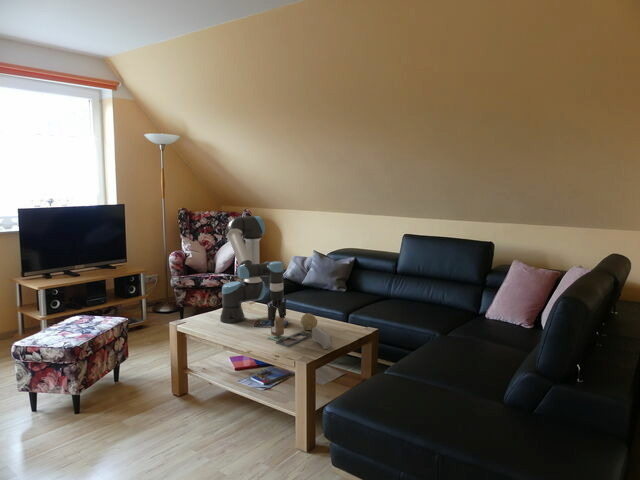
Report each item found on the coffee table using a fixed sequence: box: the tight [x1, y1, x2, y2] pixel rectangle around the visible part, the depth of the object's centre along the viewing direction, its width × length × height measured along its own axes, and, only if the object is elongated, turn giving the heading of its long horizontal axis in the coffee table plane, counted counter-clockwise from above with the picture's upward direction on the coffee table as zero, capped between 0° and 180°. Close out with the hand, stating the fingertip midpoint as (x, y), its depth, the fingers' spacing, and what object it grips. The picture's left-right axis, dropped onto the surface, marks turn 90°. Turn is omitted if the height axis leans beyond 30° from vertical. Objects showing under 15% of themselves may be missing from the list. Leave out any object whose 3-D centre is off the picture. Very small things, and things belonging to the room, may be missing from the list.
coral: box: [300, 312, 318, 331], centre depth 284 cm, size 10×10×10 cm
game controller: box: [311, 326, 331, 350], centre depth 258 cm, size 20×2×8 cm, turn 25°
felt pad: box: [266, 334, 289, 342], centre depth 269 cm, size 8×8×1 cm
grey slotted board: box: [275, 330, 313, 348], centre depth 267 cm, size 9×22×1 cm, turn 143°
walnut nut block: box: [270, 316, 285, 337], centre depth 269 cm, size 5×5×9 cm
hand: (277, 330), depth 269 cm, fingers closed on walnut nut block, 5 cm apart
